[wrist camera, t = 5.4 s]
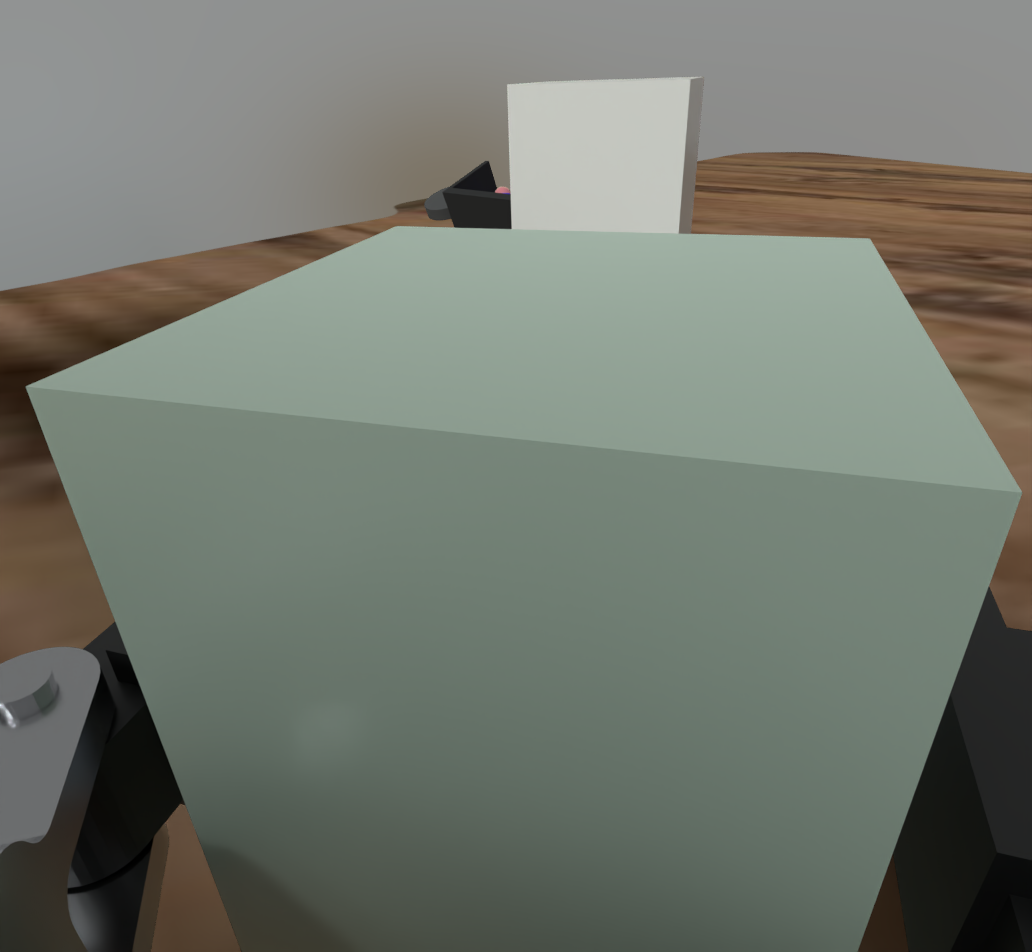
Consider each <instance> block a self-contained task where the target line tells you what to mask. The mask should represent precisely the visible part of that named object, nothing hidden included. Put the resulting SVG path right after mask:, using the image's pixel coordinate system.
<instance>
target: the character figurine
mask: <svg viewBox="0 0 1032 952" xmlns="http://www.w3.org/2000/svg"><path fill="white" fill-rule="evenodd" d="M424 205H425V208H426V211H427V214H428V216H429V218H430V219H432V220H447V219H452V222H453V224H454V227H455V228H483V229H512V223H511V191H510V190H509V189H508V188H507V187H499V188H497V187H496V184H495V180H494V177H493V174H492V170H491V167H490V164H489V161H485V162H484V163H482V164H481V165H479V166H478V167H476V168H475V169H474V170H472V171H471V172H470V173H468V174H467V175H466V176H464V177H463V178H461V179H460V180H459V181H457V182H456V183H455V184H453V185H452V186H450V187H447V188H444V189H442V190H440V191H438V192H436V193H434V194H433V195H431V196H430V197H429V198H428V199H427V200H426V201H425V204H424Z"/></svg>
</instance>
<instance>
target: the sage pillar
mask: <svg viewBox="0 0 1032 952" xmlns="http://www.w3.org/2000/svg"><path fill="white" fill-rule="evenodd" d="M26 389H27V392H28V395H29V397H30V400H31V402H32V405H33V408H34V410H35V413H36V415H37V418H38V421H39V423H40V426H41V429H42V431H43V434H44V436H45V439H46V442H47V444H48V447H49V449H50V452H51V455H52V457H53V460H54V462H55V465H56V468H57V470H58V473H59V476H60V478H61V481H62V483H63V486H64V489H65V491H66V494H67V496H68V499H69V502H70V504H71V507H72V510H73V512H74V515H75V517H76V520H77V523H78V525H79V528H80V530H81V533H82V536H83V538H84V541H85V544H86V546H87V549H88V551H89V554H90V557H91V559H92V562H93V564H94V567H95V570H96V572H97V575H98V577H99V580H100V583H101V585H102V588H103V591H104V593H105V596H106V598H107V601H108V604H109V606H110V609H111V611H112V614H113V617H114V619H115V622H116V625H117V627H118V630H119V632H120V635H121V638H122V640H123V643H124V645H125V648H126V651H127V653H128V656H129V659H130V661H131V664H132V666H133V669H134V672H135V674H136V677H137V679H138V682H139V685H140V687H141V690H142V693H143V695H144V698H145V700H146V703H147V706H148V708H149V711H150V713H151V716H152V719H153V721H154V724H155V726H156V729H157V732H158V734H159V737H160V740H161V742H162V745H163V747H164V750H165V753H166V755H167V758H168V760H169V763H170V766H171V768H172V771H173V774H174V776H175V779H176V781H177V784H178V787H179V789H180V792H181V794H182V797H183V800H184V802H185V805H186V808H187V810H188V813H189V815H190V818H191V821H192V823H193V826H194V828H195V831H196V834H197V836H198V839H199V842H200V844H201V847H202V849H203V852H204V855H205V857H206V860H207V862H208V865H209V868H210V870H211V873H212V875H213V878H214V881H215V883H216V886H217V889H218V891H219V894H220V896H221V899H222V902H223V904H224V907H225V909H226V912H227V915H228V917H229V920H230V923H231V925H232V928H233V930H234V933H235V936H236V938H237V941H238V943H239V946H240V949H241V951H242V952H858V949H859V946H860V943H861V940H862V938H863V935H864V932H865V929H866V926H867V924H868V921H869V918H870V915H871V913H872V910H873V907H874V904H875V901H876V899H877V896H878V893H879V890H880V888H881V885H882V882H883V879H884V876H885V874H886V871H887V868H888V865H889V862H890V860H891V857H892V854H893V851H894V849H895V846H896V843H897V840H898V837H899V835H900V832H901V829H902V826H903V824H904V821H905V818H906V815H907V812H908V810H909V807H910V804H911V801H912V798H913V796H914V793H915V790H916V787H917V785H918V782H919V779H920V776H921V773H922V771H923V768H924V765H925V762H926V759H927V757H928V754H929V751H930V748H931V746H932V743H933V740H934V737H935V734H936V732H937V729H938V726H939V723H940V721H941V718H942V715H943V712H944V709H945V707H946V704H947V701H948V698H949V695H950V693H951V690H952V687H953V684H954V682H955V679H956V676H957V673H958V670H959V668H960V665H961V662H962V659H963V656H964V654H965V651H966V648H967V645H968V643H969V640H970V637H971V634H972V631H973V629H974V626H975V623H976V620H977V618H978V615H979V612H980V609H981V606H982V604H983V601H984V598H985V595H986V592H987V590H988V587H989V584H990V581H991V579H992V576H993V573H994V570H995V567H996V565H997V562H998V559H999V556H1000V554H1001V551H1002V548H1003V545H1004V542H1005V540H1006V537H1007V534H1008V531H1009V528H1010V526H1011V523H1012V520H1013V517H1014V515H1015V512H1016V509H1017V506H1018V503H1019V501H1020V498H1021V495H1022V491H1021V490H1020V488H1019V486H1018V485H1017V483H1016V481H1015V480H1014V478H1013V476H1012V475H1011V473H1010V471H1009V470H1008V468H1007V466H1006V465H1005V463H1004V461H1003V460H1002V458H1001V456H1000V455H999V453H998V451H997V450H996V448H995V446H994V445H993V443H992V441H991V440H990V438H989V436H988V435H987V433H986V431H985V430H984V428H983V426H982V425H981V423H980V421H979V420H978V418H977V416H976V415H975V413H974V411H973V410H972V408H971V406H970V405H969V403H968V401H967V400H966V398H965V396H964V395H963V393H962V391H961V390H960V388H959V386H958V385H957V383H956V381H955V380H954V378H953V376H952V375H951V373H950V371H949V370H948V368H947V366H946V365H945V363H944V361H943V360H942V358H941V356H940V355H939V353H938V351H937V350H936V348H935V347H934V345H933V343H932V342H931V340H930V338H929V337H928V335H927V333H926V332H925V330H924V328H923V327H922V325H921V323H920V322H919V320H918V318H917V317H916V315H915V313H914V312H913V310H912V308H911V307H910V305H909V303H908V302H907V300H906V298H905V297H904V295H903V293H902V292H901V290H900V288H899V287H898V285H897V283H896V282H895V280H894V278H893V277H892V275H891V273H890V272H889V270H888V268H887V267H886V265H885V263H884V262H883V260H882V258H881V257H880V255H879V253H878V252H877V250H876V248H875V247H874V245H873V243H872V242H871V240H870V239H865V238H827V237H789V236H751V235H712V234H674V233H636V232H598V231H559V230H521V229H483V228H445V227H407V226H396V227H394V228H392V229H389V230H387V231H385V232H382V233H380V234H378V235H375V236H373V237H371V238H368V239H366V240H364V241H361V242H359V243H357V244H354V245H352V246H350V247H348V248H345V249H343V250H341V251H338V252H336V253H334V254H331V255H329V256H327V257H324V258H322V259H320V260H317V261H315V262H313V263H310V264H308V265H306V266H303V267H301V268H299V269H297V270H294V271H292V272H290V273H287V274H285V275H283V276H280V277H278V278H276V279H273V280H271V281H269V282H266V283H264V284H262V285H259V286H257V287H255V288H253V289H250V290H248V291H246V292H243V293H241V294H239V295H236V296H234V297H232V298H229V299H227V300H225V301H222V302H220V303H218V304H215V305H213V306H211V307H209V308H206V309H204V310H202V311H199V312H197V313H195V314H192V315H190V316H188V317H185V318H183V319H181V320H178V321H176V322H174V323H171V324H169V325H167V326H165V327H162V328H160V329H158V330H155V331H153V332H151V333H148V334H146V335H144V336H141V337H139V338H137V339H134V340H132V341H130V342H127V343H125V344H123V345H121V346H118V347H116V348H114V349H111V350H109V351H107V352H104V353H102V354H100V355H97V356H95V357H93V358H90V359H88V360H86V361H83V362H81V363H79V364H76V365H74V366H72V367H70V368H67V369H65V370H63V371H60V372H58V373H56V374H53V375H51V376H49V377H46V378H44V379H42V380H39V381H37V382H35V383H32V384H30V385H28V386H26Z"/></svg>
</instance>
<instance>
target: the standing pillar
mask: <svg viewBox="0 0 1032 952" xmlns="http://www.w3.org/2000/svg"><path fill="white" fill-rule="evenodd" d="M703 83H704V77H682V78H650V79H615V80H582V81H550V82H536V83H522V84H509V85H507V90H508V91H507V92H508V122H509V123H508V124H509V154H510V155H509V156H510V190H511V223H512V229H521V230H559V231H598V232H636V233H674V234H691V226H692V214H693V202H694V190H695V179H696V167H697V155H698V143H699V132H700V120H701V107H702V96H703Z"/></svg>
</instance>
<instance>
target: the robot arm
mask: <svg viewBox="0 0 1032 952" xmlns="http://www.w3.org/2000/svg"><path fill="white" fill-rule="evenodd" d="M179 804H183V805H185V802H184V800H183V797H182V794H181V792H180V789H179V787H178V784H177V781H176V779H175V776H174V774H173V771H172V768H171V766H170V763H169V760H168V758H167V755H166V753H165V750H164V747H163V745H162V742H161V740H160V737H159V734H158V732H157V729H156V726H155V724H154V721H153V719H152V716H151V713H150V711H149V708H148V706H147V703H146V700H145V698H144V695H143V693H142V690H141V687H140V685H139V682H138V679H137V677H136V674H135V672H134V669H133V666H132V664H131V661H130V659H129V656H128V653H127V651H126V648H125V645H124V643H123V640H122V638H121V635H120V632H119V630H118V627H117V625H116V622H114V623H113V624H112V625H111V626H109V627H108V628H107V629H106V630H105V631H104V632H102V633H101V634H100V635H99V636H98V637H97V638H95V639H94V640H93V641H92V642H91V643H90V644H88V645H87V646H86V647H85V648H84V649H79V648H73V647H54V648H46V649H41V650H37V651H33V652H29V653H26V654H23V655H20V656H17V657H15V658H13V659H10V660H8V661H6V662H4V663H2V664H0V952H151V949H152V943H153V937H154V931H155V925H156V919H157V913H158V907H159V901H160V895H161V889H162V883H163V878H164V872H165V866H166V860H167V854H168V848H169V834H168V829H167V827H166V825H165V822H166V821H167V819H168V818H169V817H170V816H171V814H172V813H173V812H174V810H175V809H176V808H177V807H178V805H179ZM893 856H894V862H895V868H896V874H897V881H898V887H899V893H900V899H901V906H902V912H903V918H904V924H905V930H906V937H907V943H908V949H909V952H1032V631H1026V630H1019V629H1013V628H1007V627H1006V625H1005V623H1004V620H1003V618H1002V616H1001V613H1000V611H999V609H998V606H997V604H996V602H995V599H994V597H993V595H992V592H991V590H990V587H988V590H987V592H986V595H985V598H984V601H983V604H982V606H981V609H980V612H979V615H978V618H977V620H976V623H975V626H974V629H973V631H972V634H971V637H970V640H969V643H968V645H967V648H966V651H965V654H964V656H963V659H962V662H961V665H960V668H959V670H958V673H957V676H956V679H955V682H954V684H953V687H952V690H951V693H950V695H949V698H948V701H947V704H946V707H945V709H944V712H943V715H942V718H941V721H940V723H939V726H938V729H937V732H936V734H935V737H934V740H933V743H932V746H931V748H930V751H929V754H928V757H927V759H926V762H925V765H924V768H923V771H922V773H921V776H920V779H919V782H918V785H917V787H916V790H915V793H914V796H913V798H912V801H911V804H910V807H909V810H908V812H907V815H906V818H905V821H904V824H903V826H902V829H901V832H900V835H899V837H898V840H897V843H896V846H895V849H894V851H893Z"/></svg>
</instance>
